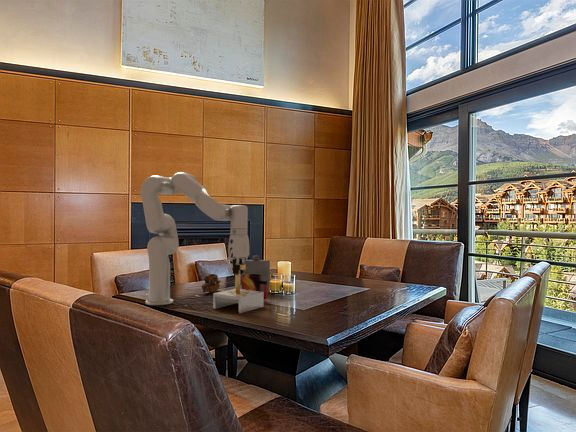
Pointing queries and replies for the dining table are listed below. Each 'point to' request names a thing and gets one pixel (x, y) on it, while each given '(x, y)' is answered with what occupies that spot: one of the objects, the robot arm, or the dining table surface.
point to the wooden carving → (210, 283)
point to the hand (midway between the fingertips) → (238, 272)
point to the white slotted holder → (239, 299)
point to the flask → (259, 270)
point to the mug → (254, 283)
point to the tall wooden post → (238, 279)
